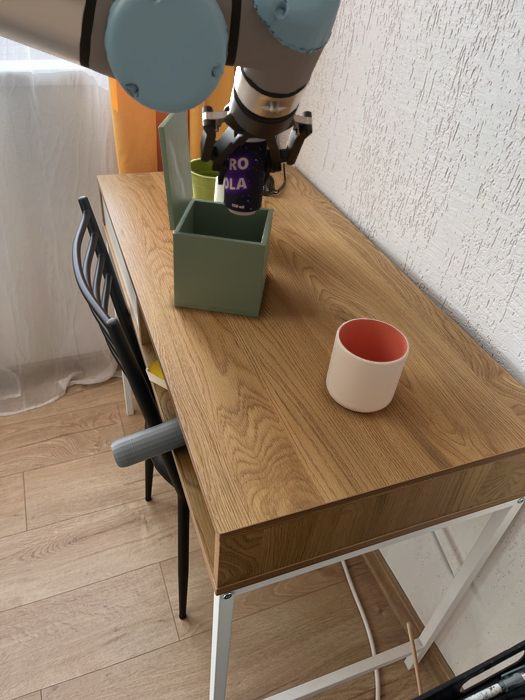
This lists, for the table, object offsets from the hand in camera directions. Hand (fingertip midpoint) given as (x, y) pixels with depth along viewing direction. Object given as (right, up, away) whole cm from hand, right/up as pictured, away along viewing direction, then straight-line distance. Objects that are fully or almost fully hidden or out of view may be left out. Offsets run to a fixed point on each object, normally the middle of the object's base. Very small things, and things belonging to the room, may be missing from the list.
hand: (240, 176), depth 80 cm
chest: (-4, -15, +16) cm, 23 cm away
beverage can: (0, -5, 0) cm, 5 cm away
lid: (-10, +2, +2) cm, 10 cm away
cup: (+17, -33, -1) cm, 37 cm away
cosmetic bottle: (-5, -8, +25) cm, 27 cm away
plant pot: (-8, +4, +39) cm, 40 cm away
